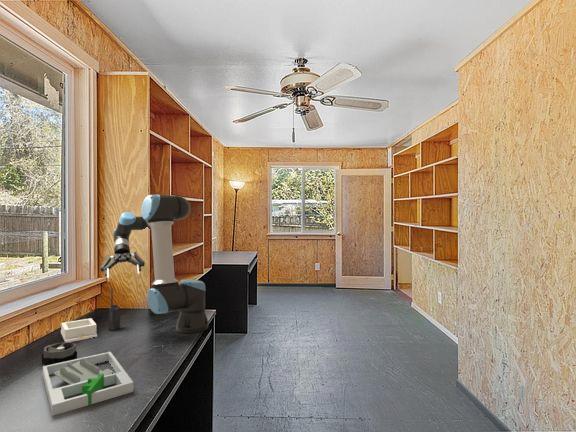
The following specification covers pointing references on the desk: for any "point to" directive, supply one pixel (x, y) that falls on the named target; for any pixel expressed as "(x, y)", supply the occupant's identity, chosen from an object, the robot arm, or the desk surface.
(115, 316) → the walkie-talkie
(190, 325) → the robot arm
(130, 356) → the desk surface
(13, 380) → the desk surface
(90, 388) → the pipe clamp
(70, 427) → the desk surface
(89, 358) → the desk organiser
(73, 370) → the metal bracket
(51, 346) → the cpu cooler
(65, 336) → the charging cradle
